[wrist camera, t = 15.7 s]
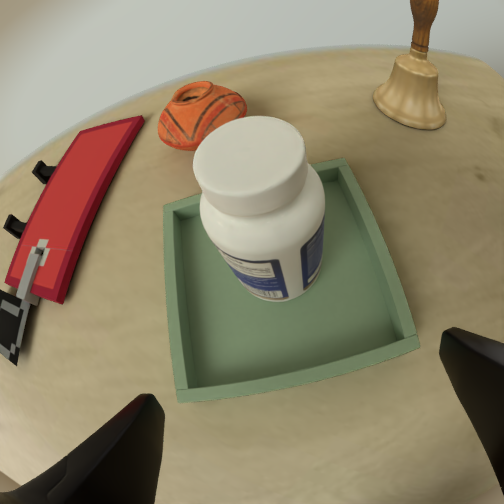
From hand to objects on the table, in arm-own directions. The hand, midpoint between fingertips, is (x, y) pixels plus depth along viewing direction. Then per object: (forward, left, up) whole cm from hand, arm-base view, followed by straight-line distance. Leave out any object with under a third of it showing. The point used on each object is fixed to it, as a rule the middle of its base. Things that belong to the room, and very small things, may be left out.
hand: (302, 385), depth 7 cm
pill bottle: (+7, +2, -8) cm, 11 cm away
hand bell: (+25, -11, -9) cm, 29 cm away
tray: (+6, +2, -9) cm, 11 cm away
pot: (+19, +9, -9) cm, 23 cm away
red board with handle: (+10, +27, -9) cm, 30 cm away
